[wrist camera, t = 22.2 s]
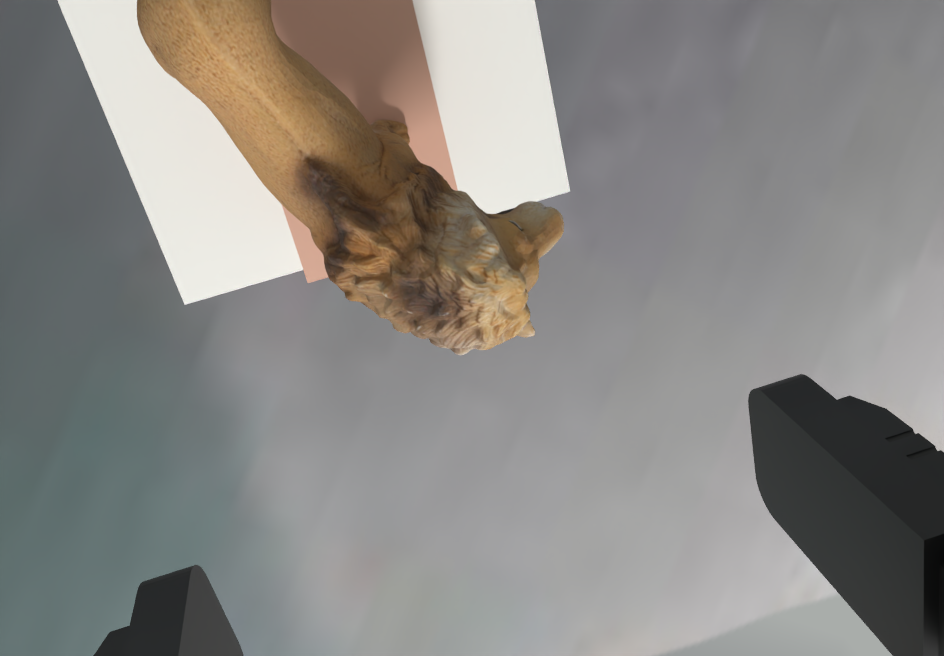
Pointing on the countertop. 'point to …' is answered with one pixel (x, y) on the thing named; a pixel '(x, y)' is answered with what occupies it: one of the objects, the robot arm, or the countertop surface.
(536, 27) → the baseplate
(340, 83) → the terracotta brick
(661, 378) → the countertop surface
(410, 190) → the lion figurine
